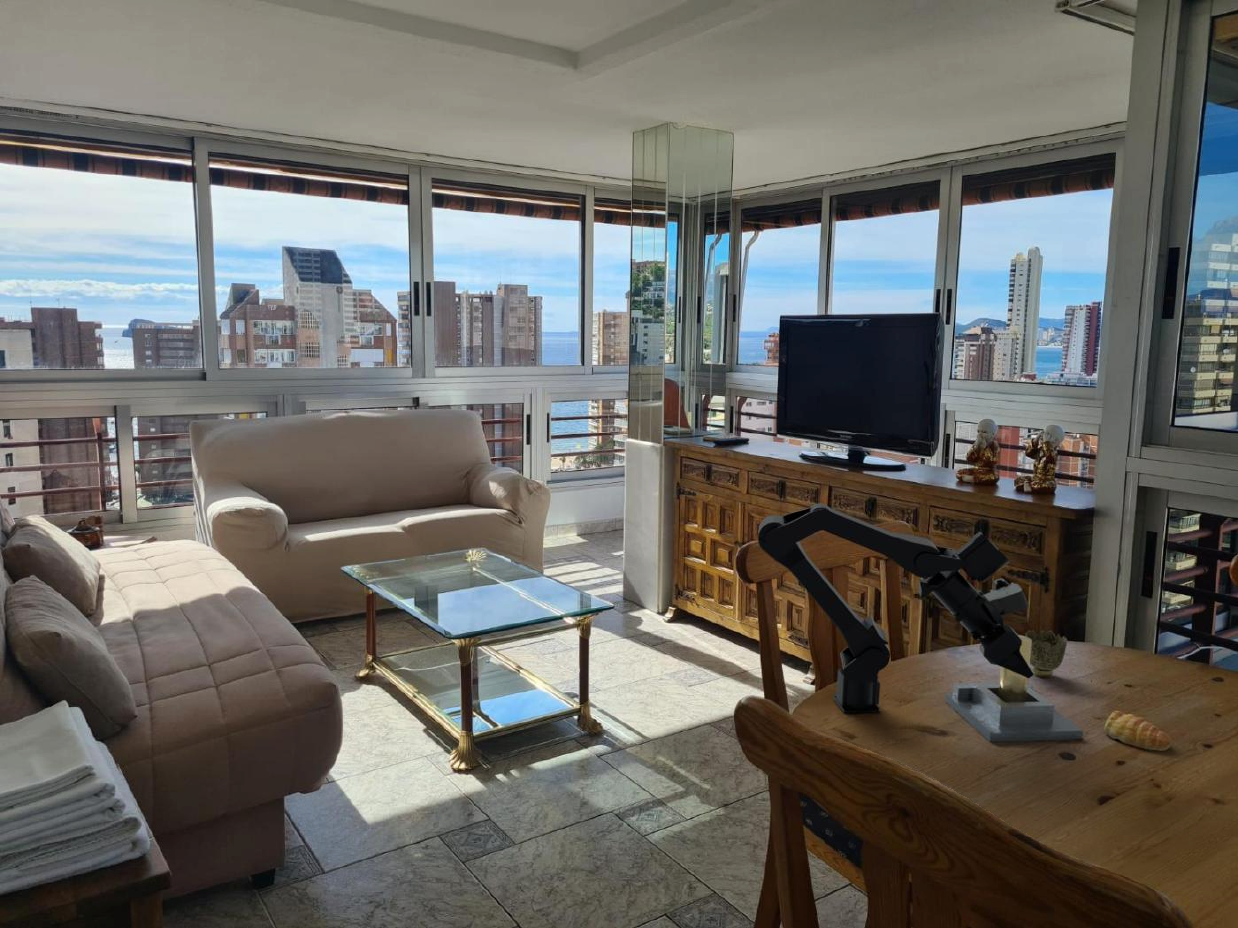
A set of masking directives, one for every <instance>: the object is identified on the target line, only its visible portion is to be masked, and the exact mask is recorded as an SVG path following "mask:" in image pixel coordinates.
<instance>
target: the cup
mask: <svg viewBox="0 0 1238 928" xmlns="http://www.w3.org/2000/svg"><path fill="white" fill-rule="evenodd" d="M1024 636H1025V637H1028V638H1030V639H1031V640H1032V644H1031V655H1030V665H1031V666H1032V672H1033V674H1034V675H1035V676H1037V677H1040V678H1045V679H1046V678H1051V677H1052V676H1053V675H1054V670H1057V669H1059V668H1060V666H1061V665H1062V663H1063V660H1064V656H1065V653H1066V649H1067V644H1068V638H1067V637H1065V635H1064V636H1062V637H1061V635H1060V633H1058V634H1057V635H1056V633H1054V632H1053V631H1051V630H1049V631H1047V632H1046V631H1045V630H1041V631H1040V633H1035V630H1034V629H1033V630H1030V629H1029V630H1028V631H1026V632H1025V634H1024Z"/></svg>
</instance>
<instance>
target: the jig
mask: <svg viewBox="0 0 1238 928" xmlns="http://www.w3.org/2000/svg"><path fill="white" fill-rule="evenodd" d="M999 684H1000V682H983V683H982V682H979V683H978V682H975V683H971V682H970V683H952V693H951V692H950V693H949V692H947V693H945V698H944V699H945V700H944V701H946V704H947V705H948V706H950V707H951V708H952V709H953V710H954V711H955V712H956V711H957V712H958V714H959V716H960V717H962V718H963V719H964V720H965V722H967V723H969V724H970V726H972V728H974V730H976V731H977V732H978V733H979V734H980V735H982V737H984V739H986V740H987V741H988V742H989V743H994V742H995V743H997V742H999V743H1000V742H1001V743H1003V742H1027V741H1028V742H1029V741H1030V742H1031V741H1032V742H1033V741H1034V742H1035V741H1070V740H1083V735H1084V730H1083V729H1081V728H1080V727H1079V726H1078V725H1076V724H1075V723H1074V722H1073V721H1071V720H1070V719H1068V718H1067V717H1065V716H1064V715H1063V714H1061V713H1060V712H1059V711H1057V710H1056V709H1055V705H1054V704H1053V703H1051V702H1050V701H1049V700H1048V699H1046V698H1045V697H1043V696H1042V695H1041V694H1039V693H1038V692H1037V691H1035V690H1034V686H1033V685H1032V684H1030V683H1029V682H1028V687H1027V698H1026V702H1010V703H1005V702H1004V701H1002V700H1001V699H1000V698H999V697H998V695H999ZM957 712H956V713H957Z"/></svg>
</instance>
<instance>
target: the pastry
mask: <svg viewBox="0 0 1238 928" xmlns="http://www.w3.org/2000/svg"><path fill="white" fill-rule="evenodd" d="M1103 731H1104V733H1106V734H1107V735H1108V737H1110V738H1111V739H1114V740H1116V739H1117V740H1119V741H1120V742H1122V743H1123V744H1126V745H1132V746H1134V747H1137V748H1141V749H1145V750H1148V749H1149V751H1159V752H1164V751H1167V750H1168V749H1169V748H1170V747H1171V745H1172V742H1173V740H1172V738H1171V737H1170V736H1169V735H1168V734H1167V733H1166V732H1164V730H1162V729H1161V728H1158V727H1157V726H1155V725H1154V723H1150V722H1148V721H1147V720H1145V718H1144V717H1137V716H1136V715H1134V714H1132V713H1129V714H1125V713H1123V712H1122V711H1119V710H1115V711H1112V713H1111V714H1110V715H1109V717H1108V718H1107V720H1106V722H1105V724H1104V728H1103Z"/></svg>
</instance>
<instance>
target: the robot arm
mask: <svg viewBox="0 0 1238 928" xmlns="http://www.w3.org/2000/svg"><path fill="white" fill-rule="evenodd" d="M821 531H823V532H827V533H829V534H831V535H834V536H836V537H838V538H841V539H844V540H846V541H849V542H851V543H854V544H856V545H858V546H860V547H863V548H866V549H869V550H871V551H873V552H875V553H879V554H881V555H883V556H885V557H886V558H888V559H890V560H891V561H893V562H894V563H895V564H897V565H898V566H899V567H901V568H903V569H904V570H905V571H907V572H909V573H910V574H912V575H914V576H915V577H917V578H919V579H918V590H917V592H918V594H919V596H920V598H921V599H925V598H927V597H928V596H929V595H931V594H933V595H934V597H935V598H937V599H938V601H939V602H941V604H942V605H943V606H944V607H945V608H946V609H947V610H948V611H949V612H950V613H951V614H952V617H953V618H954V620H956V621H957V623H960V624H961V625H962V626H963V627H964V629H966V630H967V632H968V633H969V635H970V636H971V637H972V638H973V640H974V641H978V640H980V641H979V651H980V653H981V654H982V656H983V657H984V659H986V660H987V662H989V664H991V665H994V666H998V667H1000V668H1001V667H1003V668H1006V669H1008V670H1011V671H1013V672H1015V673H1017V674H1020V675H1022V676H1024V677H1026V678H1028V679H1031V678H1032V677H1033V676H1034V675H1035V674H1034V673H1033V670H1032V668H1030V666H1028V664H1027V662H1026V661H1025V659H1024V658H1023V656H1022V654H1021V653H1020V647H1021V645H1022V640H1021V638H1020V637H1019V636H1018V635H1019V634H1018V633H1017V632H1016V631H1015V630H1014V629H1013V628H1012V627H1011V626H1010V625H1004V620H1005V615H1008V614H1012V613H1014V612H1017V611H1020V610H1021V611H1023V610H1027V609H1028V608H1029V603H1028V600H1027V598H1026V596H1025V593H1024V591H1023V589H1022V587H1021V586H1020V585H1019V584H1018V583H1015V582H1011V583H1008V582H1007V581H1006V580H1005V579H1004V578H1002V577H1001V578H997V579H996V580H994V581H993V587H992V589H990V590H989V591H990V592H988V593H983V592H982V590H980V589H978V590H977V588H975V587H974V586H973V585H972V584H971V583H970V581H968V580H967V579H966V578H965V576H964V575H963V574H962V573H961V572H960V570H962V571H963V572H964V573H965V574H966V576H967V577H969V578H970V579H971V580H972V581H973V583H974V582H976V581H977V582H978V583H981V582H982V583H985V582H986V581H987V580H989V579H990V578H991V577H992V576H994V575H995V574H997V572H999V571H1000V570H1001V569H1002V568H1004V567H1005V566H1006V565H1008V564H1009V563H1010V562H1011V561H1010V560H1009V559H1008V558H1007V557H1006V555H1005V554H1004V553H1003V552H1002V551H1001V550H1000V549H999V547H997V546H996V545H995V544H994V543H993V542H992V541H990V540H989V539H988V538H987V537H986V536H985V535H984V534H983V533H982V532H981V531H978V532H977V533H975V535H973V536H972V537H971V539H970V540H969V541H968V542H966V543H965V544H964V545H962V546H961V547H960V548H959V549H957V550H955V549H954V548H952V547H951V548H950V547H945V546H940V545H935V544H934V542H933V541H932V540H931V539H930V540H929V539H928V538H925V537H923V536H922V537H921V536H917V535H912V534H907V533H897V532H892V531H888V530H886V529H884V528H881V527H878V526H876V525H873V524H870V523H869V522H867V521H864V520H861V519H859V518H856V517H854V516H851V515H848V514H846V513H844V512H841V511H839V510H836V509H833V508H831V507H829V505H827V504H826V503H815V504H813V505H812V506H809V507H807V508H804V509H800V510H796V511H792V512H788V513H786V514H783V515H775V514H773V515H768V516H767V517H764V518H763V520H762V521H760V524H759V526H758V532H757V533H758V534H757V535H758V536H757V542H758V545H759V547H760V549H761V550H762V552H763V551H764V553H765V554H767V555H768V556H769V557H770V558H771V559H773V560H774V561H775V562H776V563H778V564H779V565H780V566H782V567H783V568H785V569H787V570H788V571H789V572H790V573H791V574H792V575H793V576H794V577H795V578H796V580H797V581H798V582H799V584H800V585H801V586H802V587H803V588H804V589H805V591H807V593H808V594H809V596H811V598H812V599H813V600H814V602H816V604H817V605H818V606H819V607H820V608H821V610H822V611H823V612H824V613H825V615H826V616H827V617H828V618H829V620H830V621H832V623H833V624H834V625H835V627H836V628H838V630H839V631H840V633H841V635H842V636H843V639H844V640H845V643H846V645H847V646H846V647H845V648H844V649H842V650H841V651H840V652H839V653H840V654H839V655H840V660H841V664H842V668H839V669H837V682H836V683H837V684H836V695H833V696H832V699H833V701H834V702H835V703H836V705H837V706H838V707H839V708H840V709H841V710H842V712H843V713H846V714H858V713H859V714H860V713H862V714H863V713H865V714H866V713H880V712H881V708H880V707H879V704H880V695H881V682H880V681H879V673H880V671H881V670H884V669H885V668H886V667H887V666H888V664H889V662H890V659H891V653H890V649H889V647H888V645H889V641H888V638H887V635H886V632H885V630H884V629H883V628H880V627H879V626H878V625H877V624H876V622H875V620H874V618H873V617H872V615H871V614H869V615H868V616H866V618H865V619H864V618H862V617H861V616H860V615H859V614H857V613H856V612H855V611H854V610H853V609H852V608H851V606H850V605H849V604H848V602H846V600H845V599H844V598H843V597H842V595H841V594H840V593H839V592H838V591H837V590H836V588H835V587H834V586H833V585H832V583H830V581H829V580H828V579H827V578H826V576H825V575H824V574H823V573H822V572H821V570H820V569H819V568H818V567H817V566H816V565H815V562H813V561H812V559H810V558H809V556H808V555H807V553H806V552H805V550H804V547H803V546H802V544H801V542H800V541H803V540H805V539H807V538H808V537H810V536H812V535H814V534H815V533H819V532H821Z"/></svg>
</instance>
